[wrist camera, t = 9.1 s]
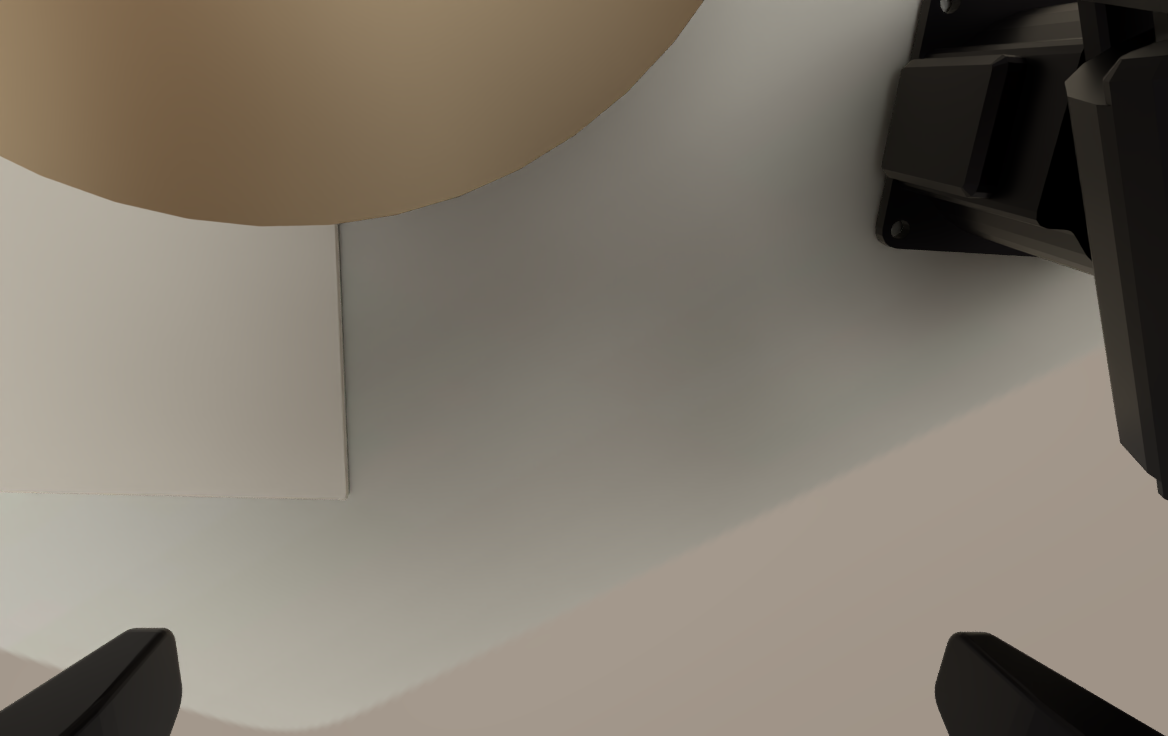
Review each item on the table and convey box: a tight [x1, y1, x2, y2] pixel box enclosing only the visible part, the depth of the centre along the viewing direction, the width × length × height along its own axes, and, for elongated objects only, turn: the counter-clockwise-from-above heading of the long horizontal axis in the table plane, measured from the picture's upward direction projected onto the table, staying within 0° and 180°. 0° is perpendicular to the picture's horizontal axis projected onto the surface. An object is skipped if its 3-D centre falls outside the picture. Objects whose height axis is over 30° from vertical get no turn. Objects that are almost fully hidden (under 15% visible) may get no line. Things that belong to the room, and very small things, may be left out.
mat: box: [0, 156, 349, 500], centre depth 19 cm, size 13×13×1 cm
